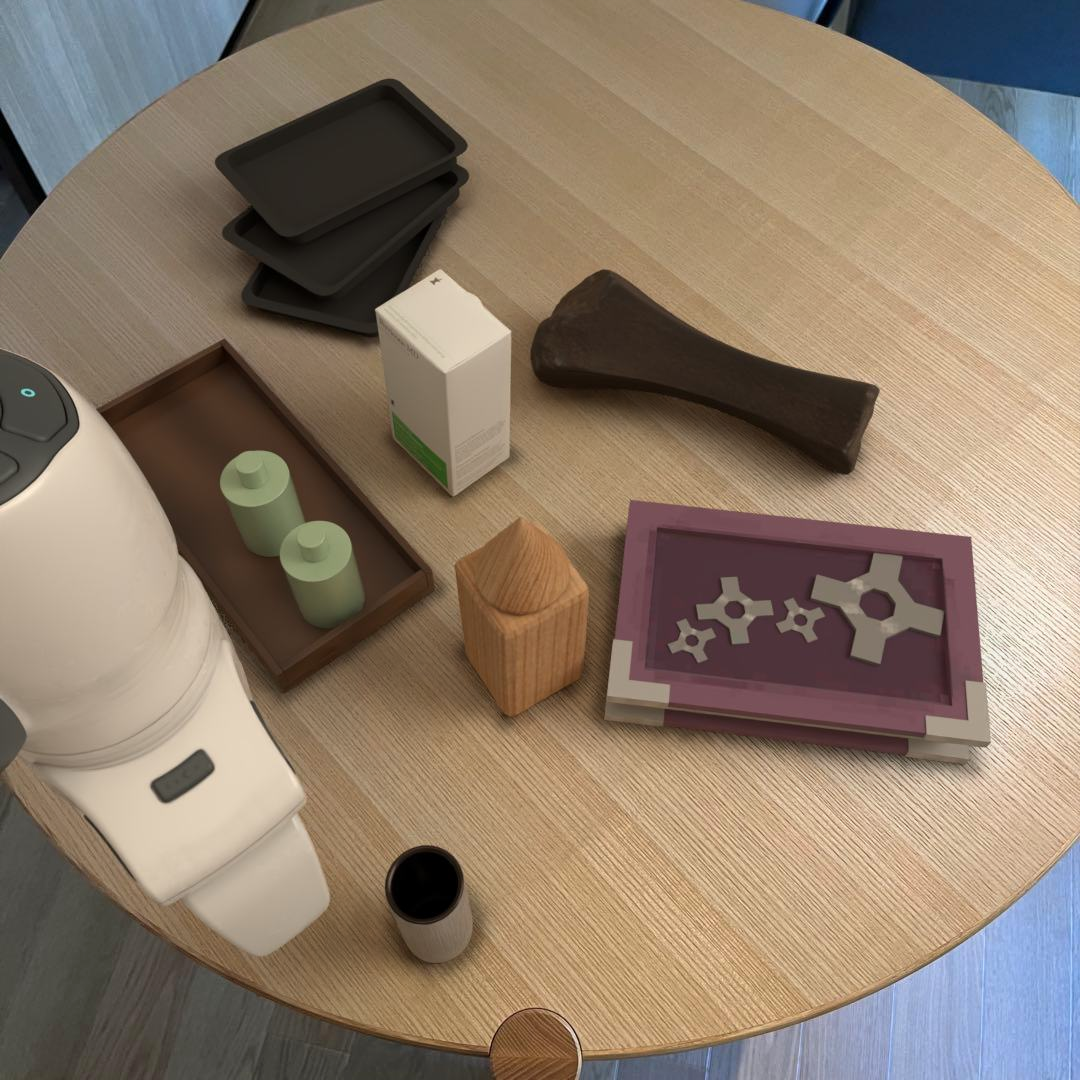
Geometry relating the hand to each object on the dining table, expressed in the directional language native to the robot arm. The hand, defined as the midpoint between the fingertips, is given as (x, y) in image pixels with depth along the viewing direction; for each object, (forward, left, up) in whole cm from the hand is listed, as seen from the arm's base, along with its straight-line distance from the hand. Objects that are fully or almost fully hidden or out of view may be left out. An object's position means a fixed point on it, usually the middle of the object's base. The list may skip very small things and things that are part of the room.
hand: (206, 795), depth 55 cm
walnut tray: (+15, +28, -22) cm, 38 cm away
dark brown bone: (+50, +14, -22) cm, 56 cm away
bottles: (+15, +21, -21) cm, 33 cm away
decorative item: (+23, +4, -22) cm, 32 cm away
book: (+39, -7, -22) cm, 45 cm away
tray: (+39, +51, -22) cm, 68 cm away
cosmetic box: (+31, +23, -22) cm, 44 cm away
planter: (+7, -7, -22) cm, 24 cm away
